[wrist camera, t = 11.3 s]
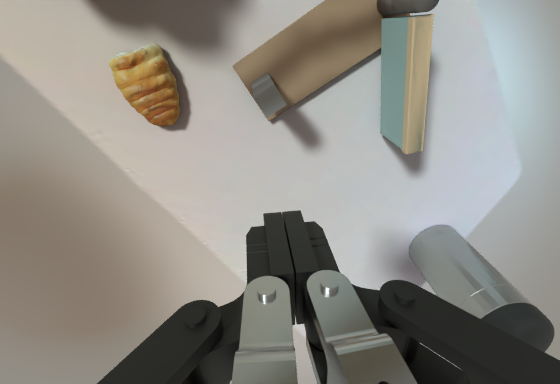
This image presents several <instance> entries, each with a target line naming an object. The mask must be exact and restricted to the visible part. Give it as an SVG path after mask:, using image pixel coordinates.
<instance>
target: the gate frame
mask: <svg viewBox="0 0 560 384" xmlns="http://www.w3.org/2000/svg"><path fill="white" fill-rule="evenodd" d="M438 2H439V0H325V1H324V2H322V3H321V4H319V5H318V6H317V7H315V8H314V9H312V10H311V11H310V12H308V13H307V14H305V15H304V16H302V17H301V18H300V19H298V20H297V21H295V22H294V23H293V24H291V25H290V26H288V27H287V28H285V29H284V30H283V31H281V32H280V33H278V34H277V35H276V36H274V37H273V38H271V39H270V40H268V41H267V42H266V43H264V44H263V45H261V46H260V47H259V48H257V49H256V50H254V51H253V52H251V53H250V54H249V55H247V56H246V57H244V58H243V59H242V60H240V61H239V62H237V63H236V64H235V65H233V68H234V69H235V71H236V72H237V74H238V75H239V77H240V79H241V80H242V82H243V83H244V85H245V86H246V88H247V89H248V91H249V92H250V94H251V95H252V97H253V98H254V100H255V101H256V103H257V104H258V106H259V107H260V109H261V110H262V112H263V114H264V115H265V117H266V118H267V120H268V121H270V120H271V119H273V118H274V117H276V116H277V115H279V114H280V113H282V112H283V111H285V110H286V109H288V108H289V107H291V106H293V105H294V104H296V103H297V102H299V101H300V100H302V99H303V98H305V97H306V96H308V95H309V94H311V93H312V92H314V91H315V90H317V89H319V88H320V87H322V86H323V85H325V84H326V83H328V82H329V81H331V80H332V79H334V78H335V77H337V76H338V75H340V74H341V73H343V72H345V71H346V70H348V69H349V68H351V67H352V66H354V65H355V64H357V63H358V62H360V61H361V60H363V59H364V58H366V57H367V56H369V55H371V54H372V53H374V52H375V51H377V50H378V49H380V48H381V29H382V19H385V18H391V17H399V16H410V14H409V13H419V12H428V11H430V10H432V9H433V8H434V7H435V6H436V5H437V4H438Z"/></svg>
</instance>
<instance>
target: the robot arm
mask: <svg viewBox="0 0 560 384" xmlns="http://www.w3.org/2000/svg"><path fill="white" fill-rule="evenodd" d="M263 215H264V226H258V227H251V229H250V230H249V232H248V234H247V235H246V244H247V286H246V289H245V291H244V292H243V294H242V295H241V296H240V297H239V298H237V299H236V300H234V301H233V302H230V303H228V304H226V305H223V306H220V307H218V306H217V305H215V304H214V303H213V302H210V301H207V300H197V301H193V302H190V303H187V304H185V305H184V306H182V307H181V308H180V309H178V311H176V312H175V313H174V314H173V315H172V316H171V317H170V318H169V319H167V320H166V321H165V322H164V323H163V324H162V325H161V326H160V327H159V328H158V329H156V330H155V331H154V332H153V333H152V334H151V335H150V336H149V337H148V338H147V339H146V340H144V341H143V342H142V343H141V344H140V345H139V346H138V347H137V348H136V349H134V350H133V351H132V352H131V353H130V354H129V355H128V356H127V357H126V358H125V359H124V360H122V361H121V362H120V363H119V364H118V365H117V366H116V367H115V368H114V369H113V370H111V371H110V372H109V373H108V374H107V375H106V376H105V377H104V378H103V379H102V380H101V381H99V382H98V383H97V384H229V383H230V381H231V380H232V384H298V380H297V368H296V356H295V348H294V343H293V331H292V325H295V317H296V322H297V324H304V325H305V330H306V346H307V349H308V353H309V356H310V360H311V363H312V367H313V371H314V374H315V377H316V381H317V384H560V360H557V359H556V358H554V357H552V356H550V355H548V354H546V353H544V352H545V351H546V350H547V349H548V347H549V346H550V344H551V342H552V340H553V338H554V327H553V325H552V323H551V322H550V320H549V319H548V318H547V317H546V316H545V315H544V314H543V313H542V312H541V311H540V310H539V309H538V308H536V307H535V306H534V305H533V304H532V303H531V302H530V301H529V300H528V299H527V298H526V297H525V296H524V295H523V294H522V293H521V292H520V291H518V290H517V289H516V288H515V287H514V286H513V285H512V284H511V283H510V282H509V281H508V280H507V279H506V278H505V277H503V275H502V274H500V272H498V271H497V270H496V269H495V268H494V267H493V266H492V265H491V264H490V263H489V262H488V261H487V260H486V259H485V258H484V257H483V256H482V255H480V254H479V252H478V251H477V250H475V249H474V248H473V247H472V246H471V245H470V244H469V243H468V242H467V241H466V240H465V239H464V238H463V237H462V236H461V235H460V234H459V233H458V232H457V231H456V230H455V229H453V228H452V227H449V226H446V225H438V226H433V227H430V228H428V229H426V230H424V231H422V232H421V233H420V234H419V235H417V236H416V238H415V239H414V240H413V241H412V243H411V245H410V248H409V255H410V258H411V260H412V261H413V263H414V264H415V265H416V267H417V268H418V269H419V271H420V272H421V274H422V275H423V276H424V278H425V279H426V281H427V282H428V283H429V285H430V286H431V287H432V289H433V290H434V292H435V293H436V294H437V296H436V295H434V294H432V293H430V292H428V291H426V290H424V289H423V288H421V287H419V286H417V285H415V284H413V283H410V282H407V281H403V280H392V281H388V282H386V283H385V284H383V285H382V287H381V289H380V291H379V290H372V289H366V288H361V287H358V286H355V285H353V284H351V282H350V281H349V279H348V278H347V277H346V276H344V275H343V274H341V273H340V271H339V269H338V266H337V264H336V261H335V259H334V256H333V254H332V251H331V249H330V246H329V244H328V241H327V239H326V236H325V234H324V231H323V229H322V228H321V227H320V226H319V225H318V224H317V223H316V222H314V221H313V222H304V220H303V217H302V214H301V211H300V210H299V211H288V212H282V213H281V212H277V213H265V214H263ZM420 343H422V344H423V345H425V346H426V347H428V348H429V349H431V350H432V351H434V352H436V353H437V354H439V355H440V356H442V357H444V358H445V359H446V360H448V361H450V362H451V363H453V364H454V365H456V366H457V367H459V368H460V369H461V370H460V369H459V368H457V367H455V366H454V365H453V364H451V363H450V362H448V361H446V360H445V359H443V358H442V357H440V356H439V355H437V354H435V353H434V352H432V351H431V350H429V349H428V348H426V347H425V346H423V345H421V344H420ZM462 370H463V371H462Z"/></svg>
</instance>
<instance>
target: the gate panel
mask: <svg viewBox="0 0 560 384" xmlns="http://www.w3.org/2000/svg"><path fill="white" fill-rule="evenodd" d="M433 18H434V14H427V15H414V16H399V17H391V18H385V19H382V29H381V129H380V133H381V134H382V135H383V136H385V137H386V138H387V139H389V140H390V141H391V142H393V143H394V144H395V145H396V146H398V147H399V148H400V149H402V152H404V153H405V154H411V153H416V152H421V151H423V141H424V128H425V116H426V104H427V92H428V79H429V67H430V55H431V43H432V30H433Z"/></svg>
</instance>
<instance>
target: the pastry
mask: <svg viewBox="0 0 560 384" xmlns="http://www.w3.org/2000/svg"><path fill="white" fill-rule="evenodd" d="M109 65H110V67H111V69H112V72H113V76H114V79H115V82H116V85H117V87H118V88H119V89H120V91H121V92H122V93H123V95H124V97H125V99H126V100H127V101H128V102H129V103H130V105H131V106H132V107H134V108H135V109H136V111H137V112H139V113H141V114H142V115H143V116H144V117H145V118H146V119H147V120H148V121H149V122H150V123H152V124H153V125H157V126H167V125H173V124H175V123H176V121H177V119H178V117H179V115H180V105H179V94H178V91H177V85H176V78H175V76H174V75H173V74H172V73H171V70H170V67H169V64H168V62H167V60H166V58H165V56H164V54H163V49H162V48H161V47H160V46H159V45H158V44H155V43H154V44H150V45H147V46H144V47H142V48H140V49H137V50H135V51H134V52H122V53H120V54H117V55H115V56H114V57H113V58H112V60H111V61H110V62H109Z"/></svg>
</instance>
